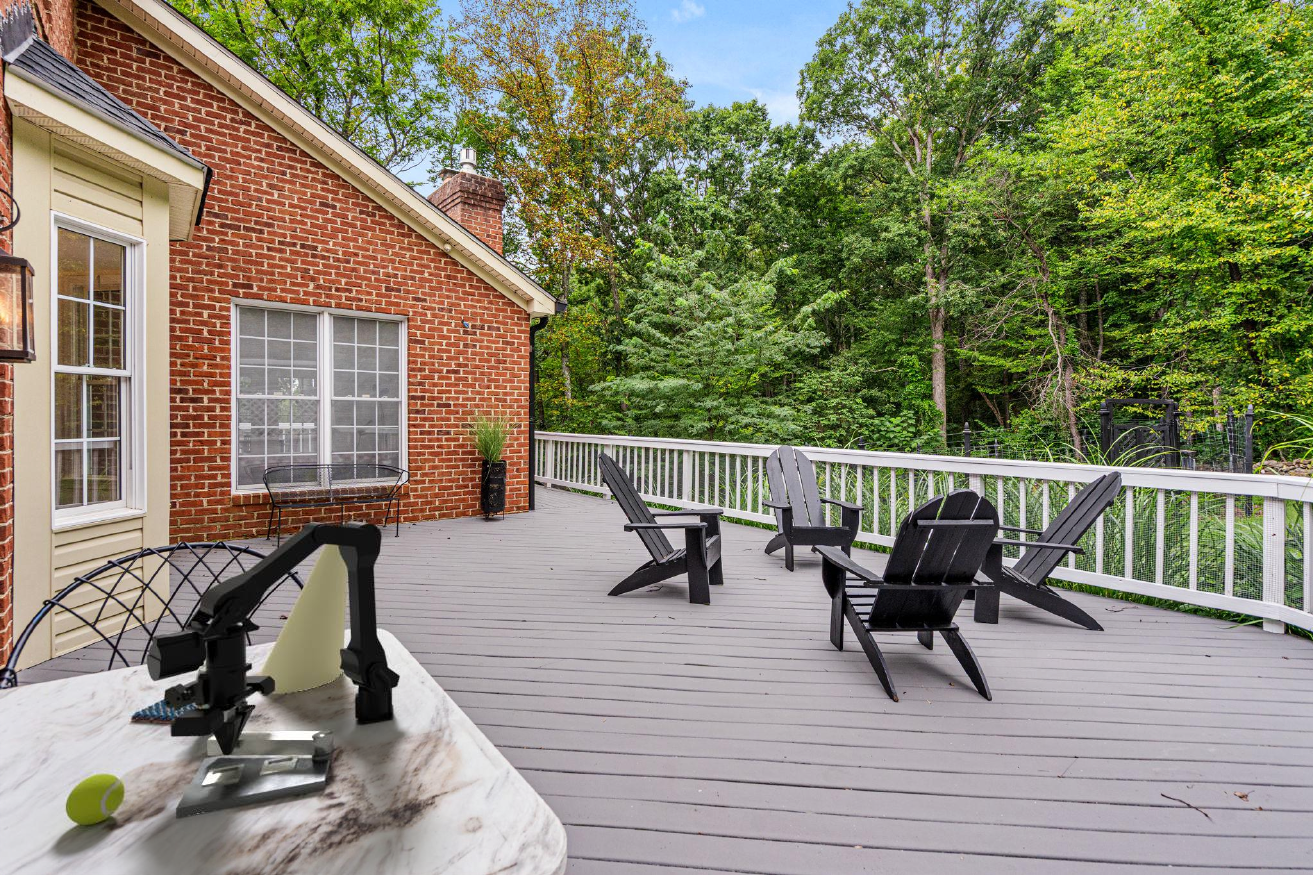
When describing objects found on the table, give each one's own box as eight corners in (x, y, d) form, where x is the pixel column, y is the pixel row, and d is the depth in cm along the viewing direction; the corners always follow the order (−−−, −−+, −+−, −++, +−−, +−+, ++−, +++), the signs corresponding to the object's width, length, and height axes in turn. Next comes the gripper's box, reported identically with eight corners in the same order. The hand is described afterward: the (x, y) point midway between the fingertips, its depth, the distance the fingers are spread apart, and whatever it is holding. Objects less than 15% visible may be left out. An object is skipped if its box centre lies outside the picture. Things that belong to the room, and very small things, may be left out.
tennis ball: (94, 807, 101) (93, 764, 101) (136, 807, 101) (135, 765, 101) (53, 834, 95) (52, 789, 95) (98, 835, 95) (96, 789, 94)
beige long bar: (336, 746, 114) (335, 730, 114) (326, 755, 111) (326, 739, 111) (220, 746, 115) (219, 730, 115) (207, 755, 112) (206, 739, 112)
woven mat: (216, 704, 140) (216, 694, 140) (174, 727, 130) (174, 717, 130) (173, 702, 142) (172, 692, 142) (127, 724, 131) (127, 714, 131)
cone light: (235, 686, 148) (231, 533, 148) (306, 659, 165) (303, 521, 165) (312, 703, 139) (309, 539, 138) (379, 673, 156) (377, 526, 155)
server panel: (336, 744, 121) (336, 730, 121) (328, 788, 106) (328, 773, 106) (204, 767, 113) (204, 752, 113) (176, 818, 98) (175, 801, 98)
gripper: (214, 645, 120) (216, 730, 120) (134, 684, 101) (136, 785, 101) (276, 644, 120) (277, 729, 120) (207, 682, 101) (208, 783, 101)
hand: (227, 754), depth 110 cm, fingers closed
